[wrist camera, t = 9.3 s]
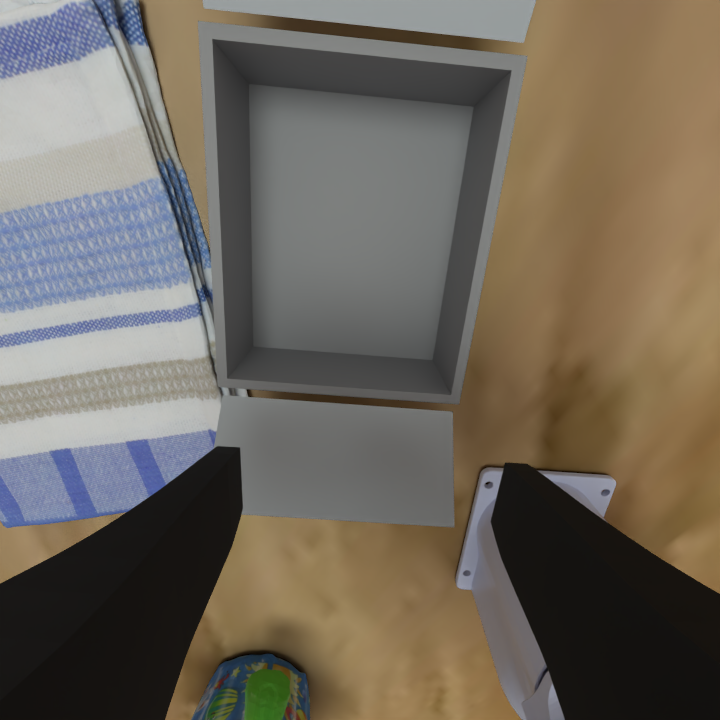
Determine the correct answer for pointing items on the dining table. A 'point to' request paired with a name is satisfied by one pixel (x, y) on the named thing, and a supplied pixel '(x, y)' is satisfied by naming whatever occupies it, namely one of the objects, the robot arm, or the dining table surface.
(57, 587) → the robot arm
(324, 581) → the dining table surface
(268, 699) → the snack cup
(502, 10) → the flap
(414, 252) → the carton
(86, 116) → the dish towel
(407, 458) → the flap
